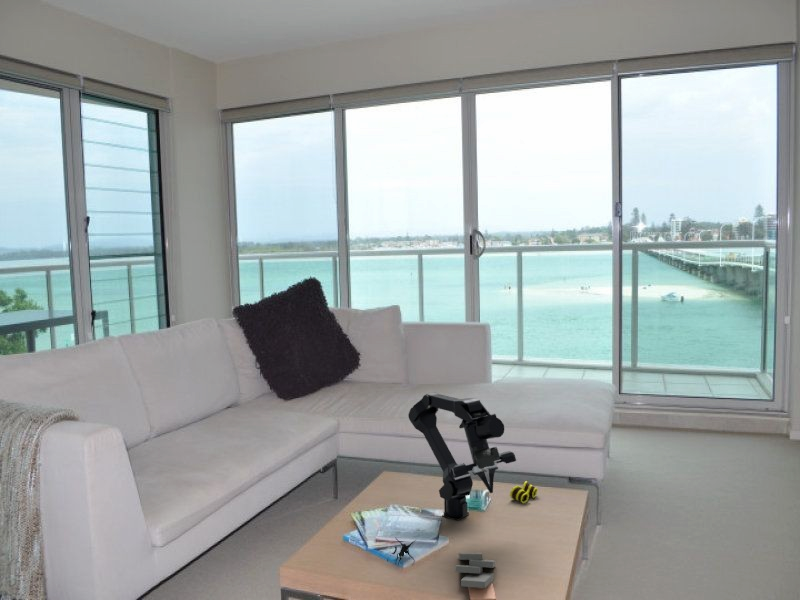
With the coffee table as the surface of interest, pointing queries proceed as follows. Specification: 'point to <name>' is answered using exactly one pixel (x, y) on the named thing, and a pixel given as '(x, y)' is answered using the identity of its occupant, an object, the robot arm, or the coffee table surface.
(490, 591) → the end domino
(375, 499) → the coffee table surface
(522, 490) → the opera glasses
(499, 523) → the coffee table surface
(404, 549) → the creature
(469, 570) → the domino
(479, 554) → the domino
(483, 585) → the domino
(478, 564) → the domino
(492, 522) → the coffee table surface
